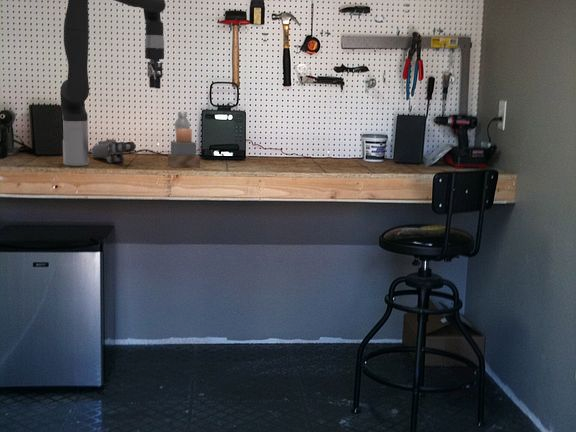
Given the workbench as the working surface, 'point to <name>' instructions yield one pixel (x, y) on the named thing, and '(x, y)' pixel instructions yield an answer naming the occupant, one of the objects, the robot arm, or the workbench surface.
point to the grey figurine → (182, 121)
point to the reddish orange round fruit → (184, 135)
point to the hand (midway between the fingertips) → (154, 88)
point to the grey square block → (183, 149)
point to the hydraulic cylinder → (112, 150)
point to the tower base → (183, 161)
